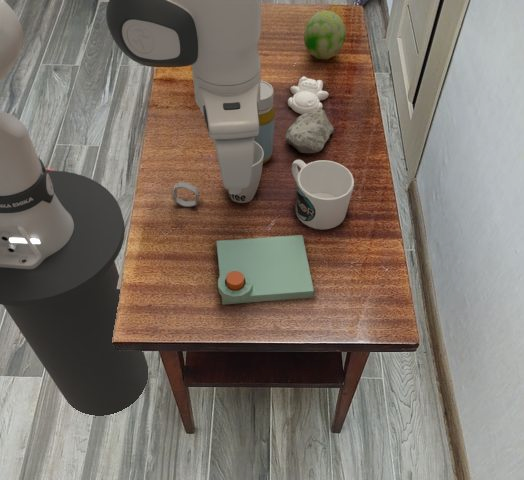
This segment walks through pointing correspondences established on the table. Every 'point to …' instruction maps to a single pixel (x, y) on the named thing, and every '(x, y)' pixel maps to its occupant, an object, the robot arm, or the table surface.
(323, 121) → the decorative stone
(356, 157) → the table surface
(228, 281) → the button
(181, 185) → the wristwatch
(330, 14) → the decorative ball
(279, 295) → the scale
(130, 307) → the table surface
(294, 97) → the astronaut figurine
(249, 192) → the cup
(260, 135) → the bottle
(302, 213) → the mug
